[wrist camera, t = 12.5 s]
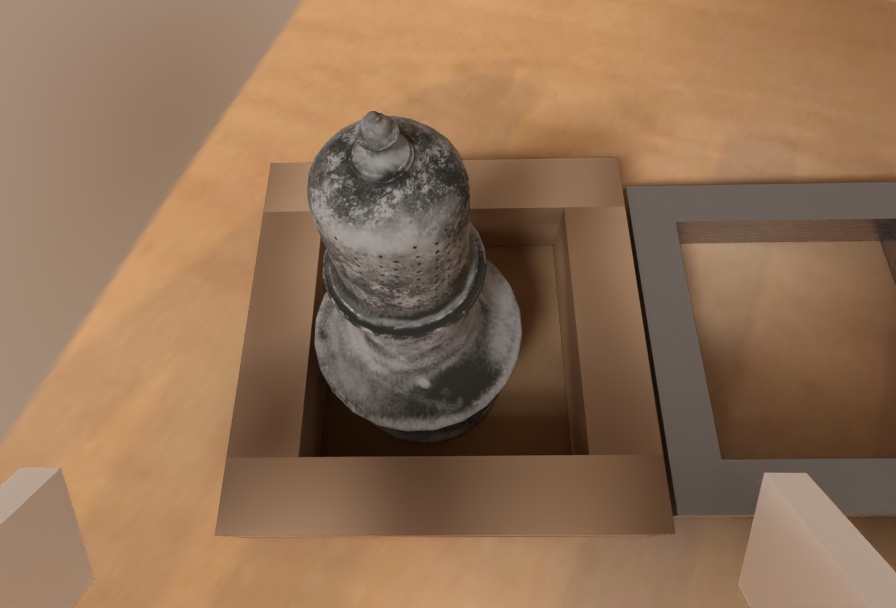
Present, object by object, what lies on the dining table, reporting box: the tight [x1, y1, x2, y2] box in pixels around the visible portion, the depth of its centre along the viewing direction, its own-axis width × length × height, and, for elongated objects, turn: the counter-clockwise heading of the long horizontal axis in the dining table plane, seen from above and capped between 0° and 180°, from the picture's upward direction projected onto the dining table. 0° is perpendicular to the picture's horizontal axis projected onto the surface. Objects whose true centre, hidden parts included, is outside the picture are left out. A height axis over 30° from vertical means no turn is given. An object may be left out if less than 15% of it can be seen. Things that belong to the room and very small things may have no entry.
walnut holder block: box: [215, 157, 675, 538], centre depth 18 cm, size 12×12×2 cm
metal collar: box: [623, 182, 896, 518], centre depth 18 cm, size 11×11×2 cm
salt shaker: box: [307, 111, 522, 443], centre depth 14 cm, size 6×6×12 cm
